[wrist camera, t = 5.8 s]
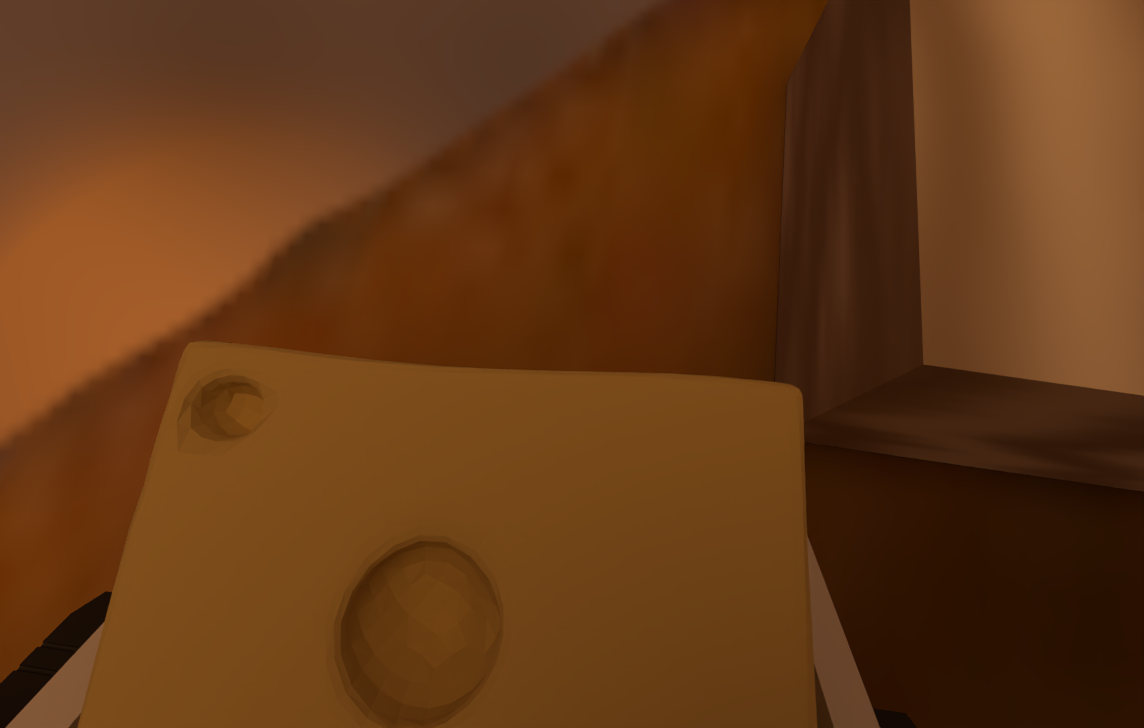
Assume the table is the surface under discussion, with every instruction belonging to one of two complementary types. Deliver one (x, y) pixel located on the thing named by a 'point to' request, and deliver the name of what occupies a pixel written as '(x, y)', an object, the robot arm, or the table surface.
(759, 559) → the cheese
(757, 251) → the table surface
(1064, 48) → the chevron patterned block
